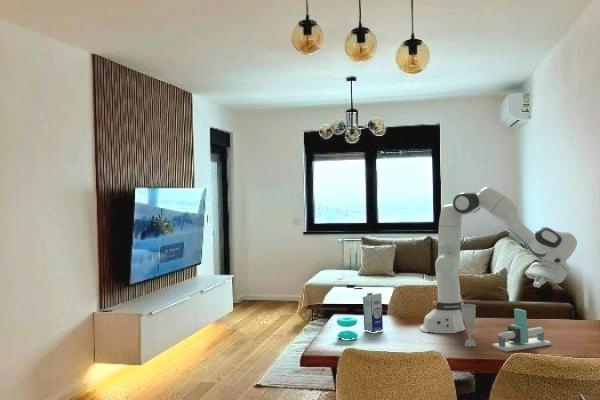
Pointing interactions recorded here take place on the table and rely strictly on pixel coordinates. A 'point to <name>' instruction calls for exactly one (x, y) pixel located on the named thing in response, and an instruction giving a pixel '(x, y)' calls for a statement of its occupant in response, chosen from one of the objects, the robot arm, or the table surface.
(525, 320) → the teal notched saddle block
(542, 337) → the pipe stand
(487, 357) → the table surface
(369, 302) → the milk carton
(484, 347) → the table surface
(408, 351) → the table surface
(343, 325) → the donuts
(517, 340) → the dark gray block
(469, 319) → the chalice
